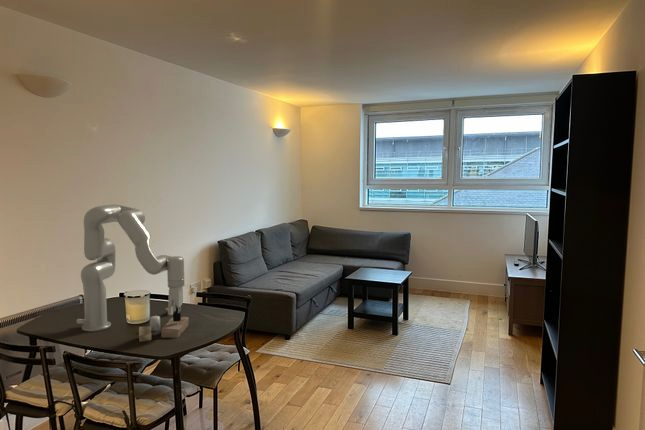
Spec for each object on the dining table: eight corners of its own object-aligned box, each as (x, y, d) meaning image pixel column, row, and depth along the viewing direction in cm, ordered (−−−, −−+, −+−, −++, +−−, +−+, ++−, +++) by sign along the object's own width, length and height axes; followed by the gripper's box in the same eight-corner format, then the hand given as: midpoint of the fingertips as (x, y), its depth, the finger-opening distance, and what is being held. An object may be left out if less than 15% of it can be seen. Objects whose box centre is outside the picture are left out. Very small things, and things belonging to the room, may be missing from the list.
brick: (178, 338, 203) (178, 328, 202) (160, 338, 203) (160, 328, 202) (189, 326, 219) (189, 316, 219) (172, 325, 219) (172, 316, 219)
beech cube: (139, 341, 198) (138, 330, 197) (139, 337, 202) (139, 327, 202) (151, 340, 199) (150, 329, 199) (151, 336, 204) (151, 325, 204)
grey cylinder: (148, 331, 210) (148, 319, 210) (151, 328, 215) (151, 315, 214) (158, 331, 211) (158, 318, 210) (161, 327, 215) (161, 315, 215)
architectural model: (165, 315, 235) (164, 302, 234) (171, 311, 241) (171, 298, 241) (171, 316, 234) (170, 302, 233) (177, 312, 241) (177, 298, 240)
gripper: (171, 279, 216) (172, 316, 218) (163, 287, 201) (164, 326, 203) (187, 279, 216) (188, 315, 218) (180, 286, 202) (181, 326, 203)
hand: (177, 320), depth 210 cm, fingers closed
